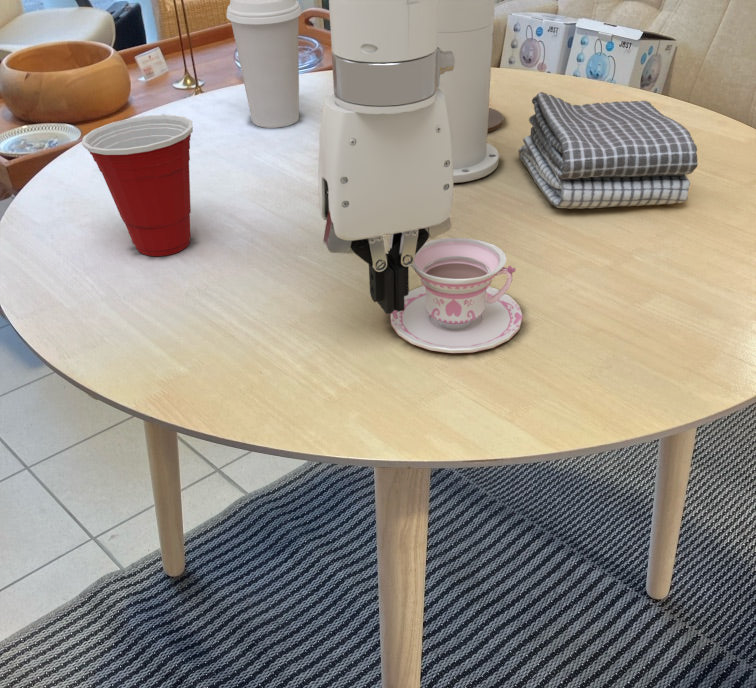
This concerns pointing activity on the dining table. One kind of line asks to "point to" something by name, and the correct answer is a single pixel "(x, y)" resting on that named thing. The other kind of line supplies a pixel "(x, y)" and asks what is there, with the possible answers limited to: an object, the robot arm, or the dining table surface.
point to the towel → (607, 154)
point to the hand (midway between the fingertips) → (389, 304)
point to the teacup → (458, 298)
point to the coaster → (494, 120)
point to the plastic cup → (148, 178)
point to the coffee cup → (268, 58)
